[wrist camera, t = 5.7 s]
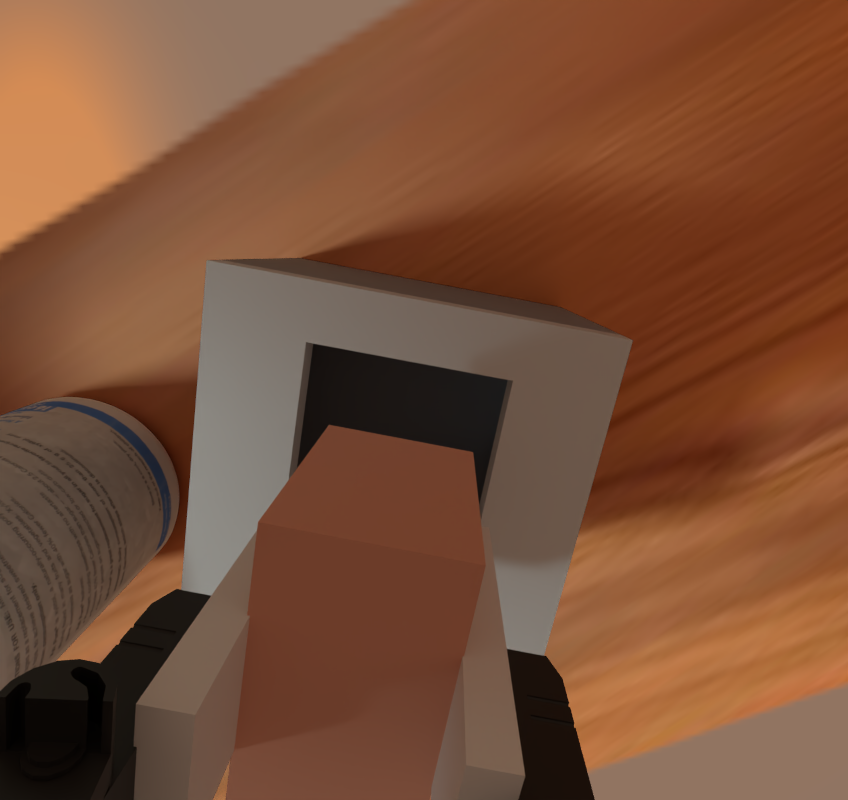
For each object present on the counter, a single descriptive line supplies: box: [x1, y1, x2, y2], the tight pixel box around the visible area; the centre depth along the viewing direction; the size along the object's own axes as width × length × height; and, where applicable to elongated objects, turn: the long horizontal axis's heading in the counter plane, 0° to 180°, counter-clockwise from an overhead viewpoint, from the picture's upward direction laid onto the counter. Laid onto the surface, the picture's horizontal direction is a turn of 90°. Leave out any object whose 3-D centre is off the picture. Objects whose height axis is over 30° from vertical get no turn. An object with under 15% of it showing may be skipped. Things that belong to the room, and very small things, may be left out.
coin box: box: [181, 258, 633, 656], centre depth 22 cm, size 12×12×10 cm
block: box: [226, 425, 486, 800], centre depth 12 cm, size 6×4×5 cm, turn 170°
